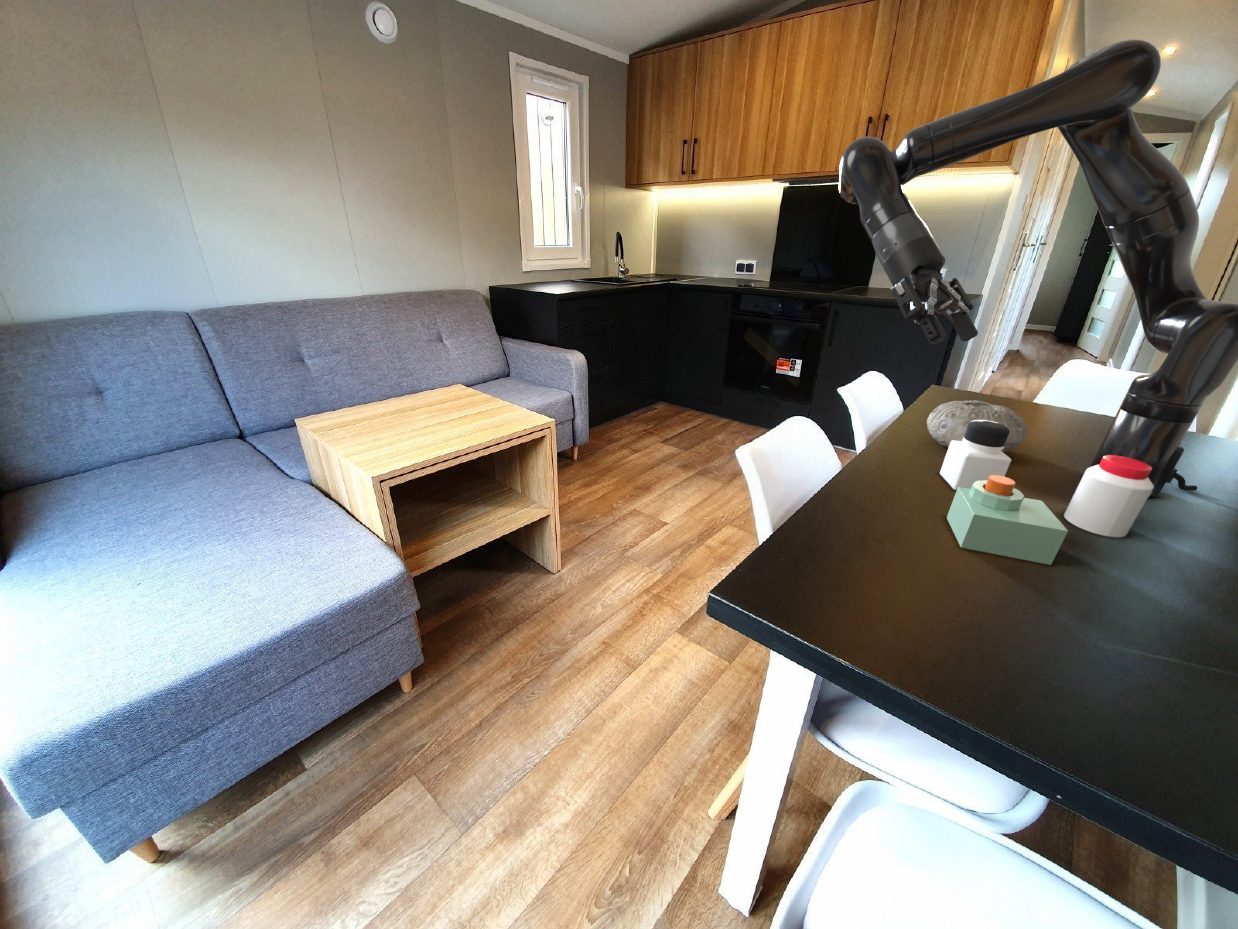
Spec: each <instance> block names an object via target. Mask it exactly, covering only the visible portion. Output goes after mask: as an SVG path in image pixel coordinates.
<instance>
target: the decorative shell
mask: <svg viewBox="0 0 1238 929" xmlns="http://www.w3.org/2000/svg"><path fill="white" fill-rule="evenodd" d="M974 420H988V421H993V422H997V423H1000V424H1002V425H1004V426H1006V427H1007V428H1008V429H1009V431H1010V433H1009V435H1008V438H1007V440H1006V443H1005V445H1004V448H1003V450H1001V451H1002V452H1003V453H1004V454H1005V453H1007V452H1009V451H1014V450H1015V449H1016V448H1019V447H1020V446H1022V445H1023V443H1024V442H1025V441H1026V439H1027V438H1028V430H1029V427H1028V426H1027V424H1026V423H1025V421H1024V420H1025V418H1024V417H1023V416H1020V415H1018V414H1017V412H1016V411H1015V410H1012V409H1010V408H1009V407H1006V406H1004V405H998V404H993V403H990V402H986V401H982V400H972V399H970V400H953V401H948V402H946V403H945V402H943V403H942V404H940V405H938V406H937V407H935V408H934V409H933V410H932V411H931V412H930V414H929V415H928V416H927V419H926V427H927V431H928V432H929V434H930V436H931V437H932V438H933V439H934V441H936V442H937V443H938V444H939V445H941V446H944V447H946V448H949V445H950V442H951V441H952V440H955V441H962V440H963V437H964V434H965V432H966V429H967V426H968V423H969V422H971V421H974Z"/></svg>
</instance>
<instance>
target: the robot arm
mask: <svg viewBox="0 0 1238 929" xmlns="http://www.w3.org/2000/svg"><path fill="white" fill-rule="evenodd" d="M1161 66H1162V59H1161V54H1160V51H1159V50H1158V48H1157V47H1156V46H1155V45H1154V44H1152V43H1151V42H1149V41H1146V40H1143V39H1126V40H1125V39H1124V40H1119V41H1117V42H1114V43H1111V44H1109V45H1106V46H1104V47H1102V48H1099V49H1098V50H1096V51H1094V52H1092V53H1090V54H1088V55H1086V56H1084V57H1082V58H1080V59H1079V60H1077V61H1075V62H1074V63H1072V64H1071V65H1070V66H1069V67H1067V68H1066V69H1065V70H1064V71H1062V72H1061V73H1059V74H1057V75H1055V76H1052V77H1050V78H1048V79H1045V80H1043V81H1041V82H1038V83H1037V84H1033V85H1032V86H1029V87H1027V88H1024V89H1021V90H1019V91H1015V92H1013V93H1011V94H1007V95H1004V96H1002V97H999V98H996V99H993V100H990V101H987V102H984V103H981V104H977V105H975V106H971V107H969V108H965V109H962V110H960V111H956V112H955V113H952V114H951V113H950V114H948V115H946V116H944V117H941V118H938V119H935V120H933V121H930V122H927V123H924V124H921V125H920V126H917V127H915V128H913V129H910V130H909V131H907V132H906V133H905V134H904V136H903V137H902V138H901V141H900V142H899V144H898V145H897V147H896V148H894V149H893V150H890V148H889V147H888V146H887V144H886V143H885V142H884V141H883V140H881V139H880V138H878V137H875V136H862V137H859V138H857V139H855V140H853V141H852V142H851V143H850V144H849V145H848V146H847V147H846V148H845V150H844V152H843V153H842V156H841V159H840V163H839V179H838V180H839V182H838V191H839V195H840V198H842V200H843V201H844V202H846V203H848V204H851V205H858V207H859V218H860V221H861V225H862V226H863V229H864V231H865V233H866V235H867V237H868V238H869V240H870V242H871V244H872V246H873V250H874V252H875V255H876V257H877V260H878V261H879V263H880V265H881V267H882V269H883V270H884V272H885V274H886V276H887V278H888V280H889V281H890V283H891V285H892V287H891V288H890V291H891V294H892V295H893V297H894V300H895V302H896V303H897V305H898V307H899V309H900V311H901V314H902V315H903V317H904V319H905V321H907V322H910V321H913V322H914V323H915V324H916V325H919V326H920V328H921V330H922V332H923V334H924V336H925V337H926V339H927V341H928V343H929V344H930V345H937V344H939V343H940V342H942V341H943V340H945V339H946V338H947V333H946V331H945V329H944V327H943V325H942V324H941V321H940V320H939V318H938V316H937V315H936V314H938V315H944V316H945V317H946V318H947V319H948V320H949V321H950V322H951V324H952V326H953V328H954V330H955V332H956V334H957V335H958V337H959V338H960V340H961V341H962V342H968V341H970V340H972V339H974V338H975V337H977V336H978V335H979V331H978V330H977V327H976V325H975V324H974V322H973V320H972V319H971V318H970V315H969V313H970V311H972V310H974V308H975V306H974V305H973V302H972V301H971V300H970V298H969V296H968V295H967V293H966V291H965V289H964V288H963V285H961V283H960V281H959V280H958V278H957V277H953V278H951V279H949V280H947V279H945V278H944V277H943V275H942V274H941V271H942V269H943V267H945V264H946V257H945V255H944V253H943V252H942V250H941V248H940V247H939V245H938V243H937V241H936V240H935V238H934V236H933V235H932V233H931V231H930V230H929V227H928V226H927V224H926V222H925V221H924V220H923V219H922V218H921V216H920V215H919V214H918V213H917V211H916V209H915V207H914V205H913V204H912V202H911V200H910V199H909V197H908V196H907V194H906V193H905V191H904V189H903V186H904V185H906V184H907V183H909V182H910V181H912V180H914V179H915V178H917V177H920V176H924V175H926V174H929V173H933V172H935V171H939V170H942V169H944V168H947V167H950V166H953V165H956V164H959V163H961V162H964V161H967V160H969V159H972V158H974V157H976V156H980V155H981V154H985V153H986V152H989V151H991V150H994V149H997V148H999V147H1002V146H1004V145H1007V144H1009V143H1012V142H1015V141H1017V140H1020V139H1023V138H1027V137H1029V136H1032V135H1035V134H1038V133H1039V134H1040V133H1042V132H1046V131H1048V130H1052V129H1056V128H1057V129H1058V130H1059V132H1060V133H1061V135H1062V137H1063V139H1064V140H1065V141H1066V143H1067V144H1068V146H1069V148H1070V150H1071V151H1072V153H1073V154H1074V156H1075V157H1076V159H1077V161H1078V162H1079V163H1078V164H1079V165H1080V167H1081V169H1082V171H1083V174H1084V177H1085V179H1086V183H1087V185H1088V187H1089V190H1090V192H1091V196H1092V197H1093V200H1094V203H1095V204H1096V207H1097V210H1098V212H1099V214H1100V218H1101V220H1102V223H1103V226H1104V228H1105V231H1106V232H1107V235H1108V237H1109V239H1110V242H1111V244H1112V247H1113V249H1114V250H1115V252H1116V254H1117V257H1118V259H1119V261H1120V263H1121V266H1122V269H1123V271H1124V273H1125V276H1126V277H1127V279H1128V282H1129V284H1130V286H1131V289H1132V291H1133V294H1134V297H1135V300H1136V305H1137V309H1138V313H1139V318H1140V321H1141V326H1142V329H1143V330H1142V331H1143V333H1144V334H1143V335H1145V339H1146V341H1147V343H1148V344H1149V346H1151V347H1152V348H1153V349H1154V350H1155V351H1158V352H1159V353H1162V354H1165V355H1167V356H1166V357H1165V359H1164V360H1163V362H1162V364H1161V365H1160V367H1159V368H1158V369H1157V370H1155V371H1154V372H1152V373H1149V374H1141V375H1138V376H1136V377H1135V378H1134V379H1133V380H1132V382H1131V383H1130V386H1129V388H1128V389H1127V392H1126V393H1125V396H1124V398H1123V400H1122V401H1121V403H1120V405H1119V408H1118V410H1117V411H1116V414H1115V416H1114V418H1113V420H1112V422H1111V424H1110V426H1109V428H1108V430H1107V432H1106V433H1105V436H1104V438H1103V440H1102V442H1101V444H1100V446H1099V448H1098V450H1097V452H1096V454H1095V456H1094V458H1093V460H1092V461H1091V464H1090V466H1089V467H1092V466H1095V465H1099V464H1100V462H1101V460H1102V458H1103V456H1105V455H1116V456H1123V457H1127V458H1132V459H1135V460H1138V461H1141V462H1144V463H1146V464H1148V465H1150V466H1151V467H1152V470H1151V472H1150V474H1149V475H1148V478H1149V479H1150V481H1151V482H1152V484H1153V485H1154V487H1153V490H1152V492H1151V493H1150V495H1149V497H1151V498H1153V497H1154V498H1158V497H1159V495H1160V494H1161V492H1162V490H1163V489H1164V487H1165V485H1166V484H1171V483H1172V481H1173V480H1174V479H1175V480H1176V481H1177V487H1178V489H1180V490H1181V491H1185V492H1187V491H1189V492H1190V491H1192V492H1193V491H1194V492H1195V491H1197V490H1198V486H1197V485H1192V484H1191V485H1186V484H1187V483H1186V479H1185V477H1184V476H1183V475H1181V474H1180V473H1178V469H1176V466H1177V464H1178V463H1179V461H1180V459H1181V458H1182V455H1183V454H1184V452H1185V448H1184V447H1183V446H1181V444H1182V442H1183V440H1184V438H1185V437H1186V435H1187V434H1188V432H1189V430H1190V428H1191V427H1192V424H1193V423H1194V421H1195V419H1196V418H1197V416H1198V414H1199V413H1200V410H1201V409H1202V408H1203V405H1204V403H1205V402H1206V400H1207V398H1208V397H1210V395H1211V394H1214V392H1216V391H1217V390H1218V389H1219V388H1220V387H1221V386H1222V385H1223V384H1224V382H1225V381H1226V380H1227V378H1228V377H1229V375H1230V374H1231V372H1232V371H1233V369H1234V367H1235V366H1236V365H1237V363H1238V303H1236V302H1229V301H1221V300H1214V299H1213V300H1212V299H1208V298H1207V296H1205V295H1204V293H1203V292H1202V289H1201V288H1200V286H1199V284H1198V281H1197V279H1196V277H1195V275H1194V271H1193V269H1192V254H1193V251H1194V247H1195V244H1196V241H1197V236H1198V233H1199V228H1200V215H1199V211H1198V207H1197V204H1196V202H1195V199H1194V196H1193V194H1192V191H1191V188H1190V186H1189V184H1188V181H1187V179H1186V178H1185V176H1184V174H1183V173H1182V172H1181V170H1180V169H1179V168H1178V167H1177V166H1176V165H1175V164H1174V163H1173V162H1172V161H1171V160H1170V159H1168V157H1167V156H1165V155H1164V154H1163V153H1162V152H1161V151H1160V150H1159V149H1158V148H1157V147H1155V145H1153V144H1152V143H1151V142H1150V141H1149V140H1148V139H1147V138H1146V137H1145V135H1144V134H1143V132H1142V130H1141V129H1140V127H1139V125H1138V122H1137V121H1136V117H1135V114H1134V112H1133V109H1132V108H1133V107H1134V106H1135V105H1137V104H1138V103H1139V102H1141V100H1142V99H1144V97H1146V95H1148V93H1149V92H1150V91H1151V90H1152V88H1153V86H1154V85H1155V83H1156V82H1157V79H1158V76H1159V74H1160V72H1161ZM909 306H910V308H909ZM935 312H936V314H935ZM934 314H935V315H934ZM1149 497H1148V498H1149Z"/></svg>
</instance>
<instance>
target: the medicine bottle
mask: <svg viewBox="0 0 1238 929" xmlns="http://www.w3.org/2000/svg"><path fill="white" fill-rule="evenodd" d="M1009 433H1010V431H1009V429H1008V428H1007V427H1006V426H1004V425H1002V424H1000V423H997V422H993V421H988V420H974V421H971V422H969V423H968V426H967V429H966V432H965V434H964V437H963V440H962V441H955V440H952V441H951V442H950V445H949V448H948V447H947V448H948V449H947V451H946V454H945V456H944V459H943V462H942V465H941V468H940V471H939V475H940V476H941V477H942V478H943V479H944V481H946V483H948V485H949V486H950V488H952V489H953V490H954V491H957V489H958V487H962V488H968V489H971V487H972V485H973V483H974V482H976V481H982V480H987V481H988V478H989V476H991V475H999V476H1004V477H1006V476H1007V473H1008V470H1009V468H1010V465H1011V463H1012V459H1011V457H1009V455H1007V454H1006V453H1005V452H1004V453H1003V452H1002V451H1001V450H1003V448H1004V445H1005V443H1006V440H1007V438H1008V435H1009Z"/></svg>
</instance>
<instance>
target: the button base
mask: <svg viewBox="0 0 1238 929" xmlns="http://www.w3.org/2000/svg"><path fill="white" fill-rule="evenodd" d="M986 483H987V480H982V481H976V482H974V483H973V485H972V487H971V489H968V488H962V487H958V489H957V490H955V491H956V492H955V495H954V496H953V500H952V502H951V505H950V507H949V510H948V513H947V516H946V520H947V521H948V523H949V526H950V527H951V530H952V532H953V534H954V537H955V538H956V540H957V542H958V545H959V547H960V548H962V549H967V550H972V551H977V552H983V553H988V554H992V555H993V554H994V555H997V556H1003V557H1008V558H1012V559H1013V558H1014V559H1018V560H1023V561H1029V562H1033V563H1038V564H1044V565H1049V566H1051V565H1052V564H1053V562H1054V560H1055V558H1056V556H1057V554H1058V552H1059V550H1060V548H1061V546H1062V544H1063V542H1064V540H1065V538H1066V536H1067V534H1068V532H1069V530H1068V528H1066V527H1065V526H1064V524H1063V523H1062V522H1061V521H1060V520H1059V519H1058V517H1056V515H1055V514H1054V513H1053V512H1052V510H1050V508H1049V507H1048V506H1047V505H1046V503H1045V502H1044V501H1042V500H1040V499H1035V498H1034V499H1033V498H1029V497H1028V498H1027V497H1025V495H1024V494H1023V492H1022V491H1020V490H1019V489H1017V488H1015V487H1014V489H1013V491H1012V493H1011V495H1010V496H1002V495H997V494H994V493H991V492H989V491H987V490H985V486H986Z"/></svg>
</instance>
